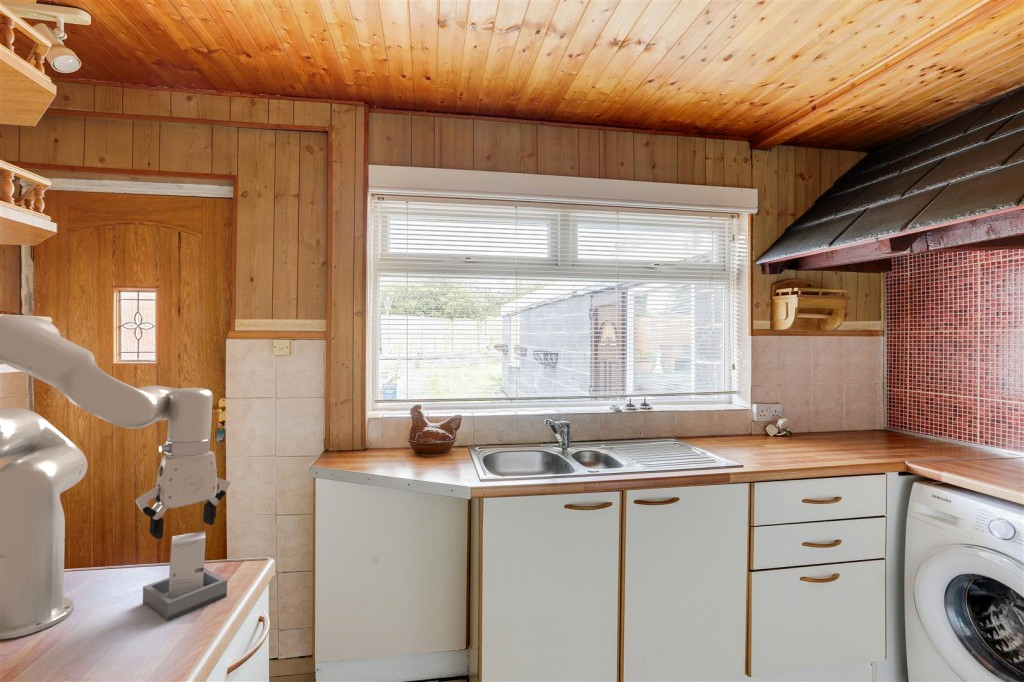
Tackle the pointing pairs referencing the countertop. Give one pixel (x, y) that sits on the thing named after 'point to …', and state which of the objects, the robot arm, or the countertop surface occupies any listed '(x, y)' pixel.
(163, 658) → the countertop surface
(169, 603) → the tray
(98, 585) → the countertop surface
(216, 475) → the robot arm
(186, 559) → the skincare box
